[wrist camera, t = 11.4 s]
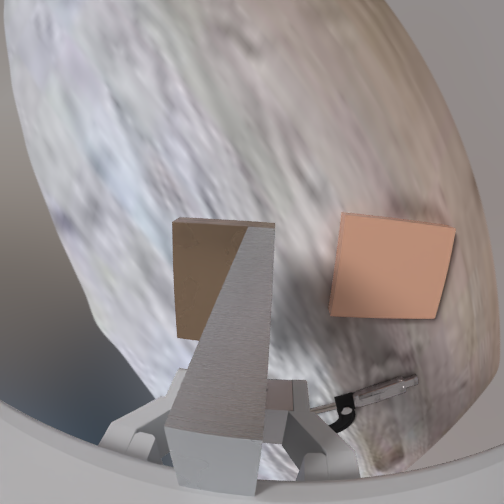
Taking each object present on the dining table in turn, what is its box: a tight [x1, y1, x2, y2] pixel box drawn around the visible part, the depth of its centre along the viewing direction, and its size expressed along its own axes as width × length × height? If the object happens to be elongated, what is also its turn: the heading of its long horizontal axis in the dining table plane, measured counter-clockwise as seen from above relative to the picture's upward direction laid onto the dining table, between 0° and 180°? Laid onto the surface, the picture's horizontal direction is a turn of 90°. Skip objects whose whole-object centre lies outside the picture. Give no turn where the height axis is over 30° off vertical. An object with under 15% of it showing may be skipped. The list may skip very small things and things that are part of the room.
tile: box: [328, 212, 456, 319], centre depth 25 cm, size 9×2×11 cm
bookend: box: [164, 217, 275, 496], centre depth 13 cm, size 8×6×16 cm
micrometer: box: [310, 374, 418, 433], centre depth 30 cm, size 15×7×2 cm, turn 109°
